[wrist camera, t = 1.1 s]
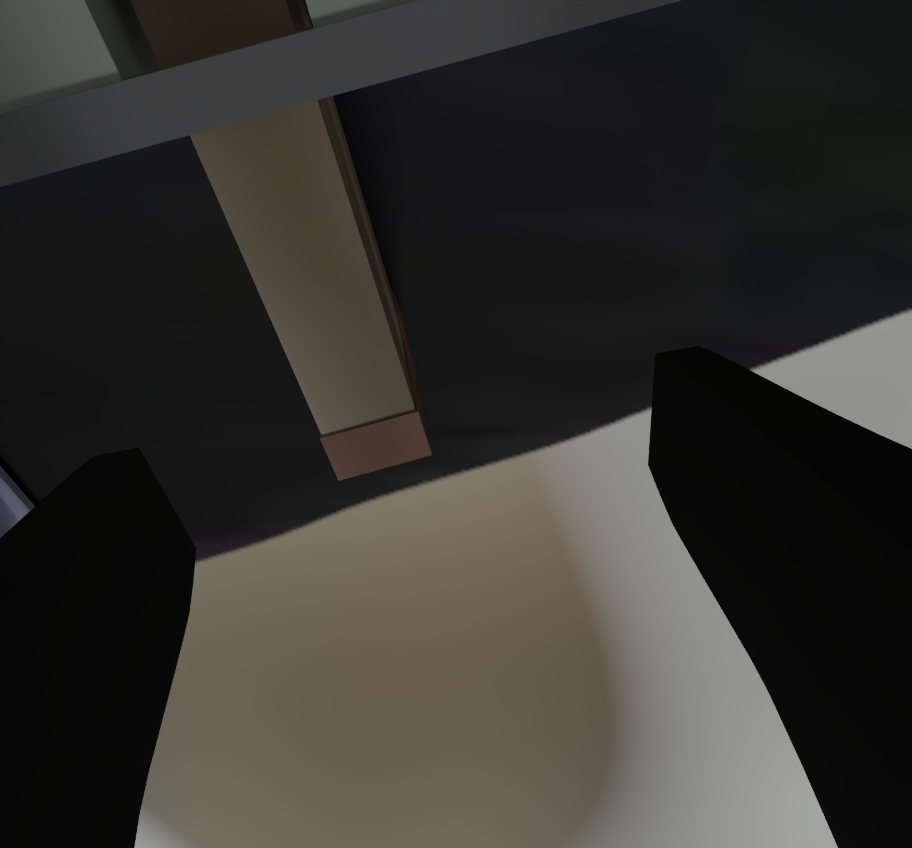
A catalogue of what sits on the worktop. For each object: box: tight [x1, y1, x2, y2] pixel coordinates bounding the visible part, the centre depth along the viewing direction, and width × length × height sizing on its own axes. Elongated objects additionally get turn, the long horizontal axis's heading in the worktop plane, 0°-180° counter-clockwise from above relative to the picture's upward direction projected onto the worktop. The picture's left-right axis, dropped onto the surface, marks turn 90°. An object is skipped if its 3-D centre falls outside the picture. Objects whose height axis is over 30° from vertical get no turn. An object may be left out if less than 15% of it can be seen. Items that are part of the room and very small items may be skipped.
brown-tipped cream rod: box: [130, 0, 432, 480], centre depth 12 cm, size 2×14×6 cm, turn 13°
